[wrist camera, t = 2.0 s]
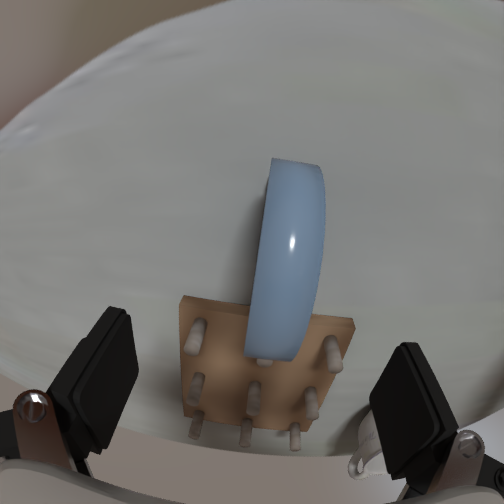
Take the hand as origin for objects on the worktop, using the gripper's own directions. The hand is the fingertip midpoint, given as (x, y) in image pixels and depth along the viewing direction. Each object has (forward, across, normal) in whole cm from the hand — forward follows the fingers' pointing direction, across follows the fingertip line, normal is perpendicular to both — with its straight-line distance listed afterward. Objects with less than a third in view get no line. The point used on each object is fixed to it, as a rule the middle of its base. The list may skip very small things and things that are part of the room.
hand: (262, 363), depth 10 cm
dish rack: (+14, -1, +16) cm, 21 cm away
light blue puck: (+14, -1, 0) cm, 14 cm away
